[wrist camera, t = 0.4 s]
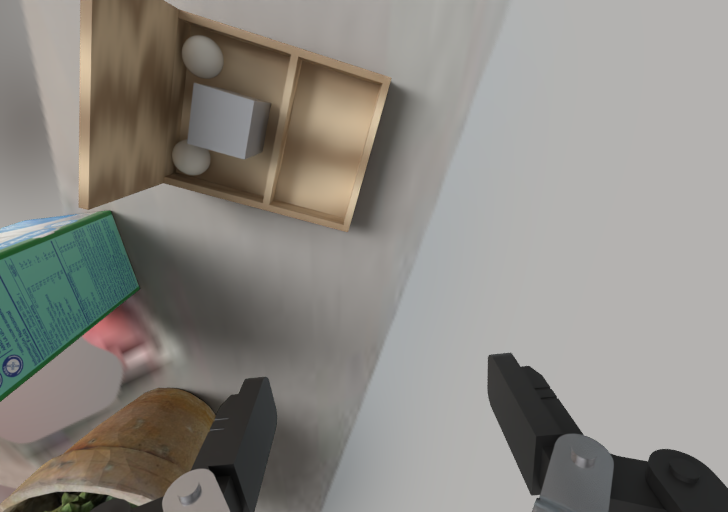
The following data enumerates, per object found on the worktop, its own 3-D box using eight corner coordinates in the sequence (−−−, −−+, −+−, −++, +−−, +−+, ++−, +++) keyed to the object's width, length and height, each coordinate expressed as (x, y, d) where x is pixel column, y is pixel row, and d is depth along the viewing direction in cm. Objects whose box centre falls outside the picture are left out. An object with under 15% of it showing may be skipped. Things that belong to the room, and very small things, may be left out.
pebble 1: (193, 33, 31) (176, 25, 28) (231, 45, 32) (218, 38, 29) (189, 74, 32) (172, 70, 29) (226, 85, 33) (212, 82, 30)
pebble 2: (183, 133, 34) (166, 135, 31) (218, 143, 34) (204, 146, 32) (179, 167, 35) (163, 172, 32) (213, 176, 36) (200, 182, 33)
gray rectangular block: (221, 87, 33) (193, 82, 27) (271, 103, 33) (254, 100, 28) (214, 138, 34) (187, 143, 29) (262, 152, 35) (244, 159, 29)
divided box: (187, 16, 31) (80, -46, 19) (388, 80, 33) (407, 62, 21) (172, 176, 36) (78, 207, 24) (348, 223, 38) (344, 274, 26)
